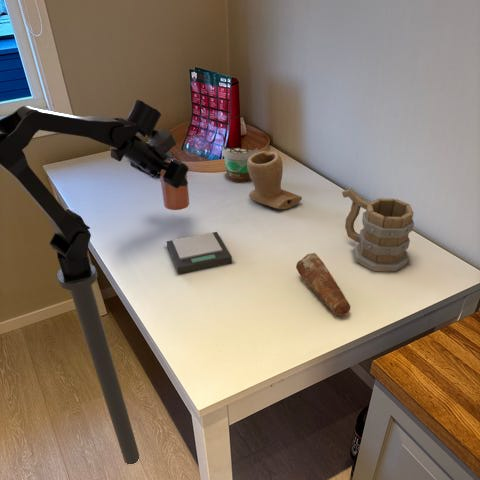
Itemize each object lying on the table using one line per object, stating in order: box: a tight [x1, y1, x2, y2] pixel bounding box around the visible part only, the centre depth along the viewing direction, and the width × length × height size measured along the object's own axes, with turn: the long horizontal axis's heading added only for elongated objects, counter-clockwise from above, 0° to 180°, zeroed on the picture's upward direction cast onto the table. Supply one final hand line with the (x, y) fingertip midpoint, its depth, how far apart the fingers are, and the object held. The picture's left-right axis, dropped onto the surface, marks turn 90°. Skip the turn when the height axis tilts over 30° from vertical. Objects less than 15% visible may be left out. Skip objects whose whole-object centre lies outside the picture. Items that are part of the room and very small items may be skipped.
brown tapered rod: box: [295, 252, 351, 317], centre depth 111 cm, size 6×19×6 cm, turn 18°
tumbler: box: [160, 161, 190, 211], centre depth 132 cm, size 7×7×11 cm
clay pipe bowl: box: [247, 150, 303, 210], centre depth 142 cm, size 15×12×15 cm
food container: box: [221, 144, 260, 183], centre depth 157 cm, size 12×6×10 cm, turn 73°
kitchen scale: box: [165, 231, 233, 275], centre depth 126 cm, size 14×13×3 cm
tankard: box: [341, 188, 415, 272], centre depth 121 cm, size 20×13×15 cm, turn 41°
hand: (178, 180), depth 132 cm, fingers closed on tumbler, 7 cm apart
